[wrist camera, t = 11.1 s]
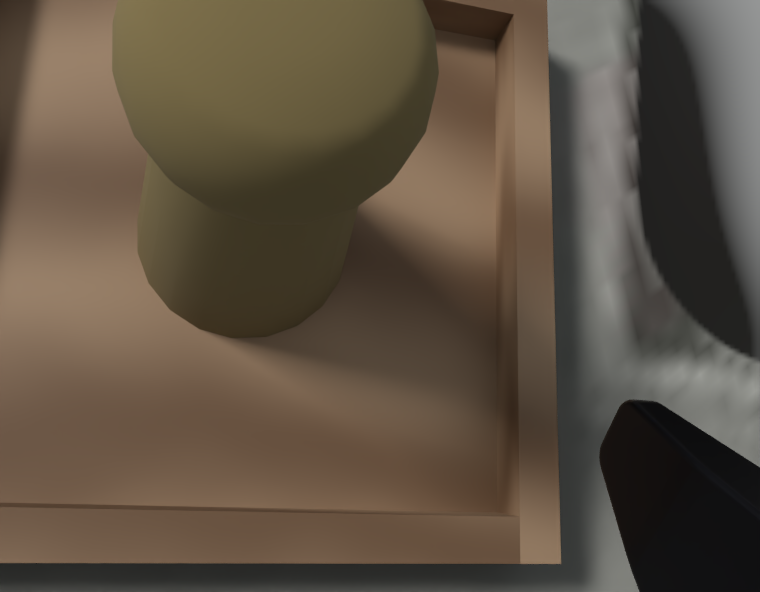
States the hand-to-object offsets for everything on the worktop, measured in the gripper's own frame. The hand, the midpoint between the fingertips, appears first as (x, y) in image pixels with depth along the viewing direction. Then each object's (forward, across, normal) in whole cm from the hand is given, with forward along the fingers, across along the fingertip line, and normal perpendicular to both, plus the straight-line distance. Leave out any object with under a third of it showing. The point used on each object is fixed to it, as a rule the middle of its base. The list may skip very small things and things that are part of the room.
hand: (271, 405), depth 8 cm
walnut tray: (+13, 0, +4) cm, 14 cm away
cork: (+12, 0, +4) cm, 13 cm away
